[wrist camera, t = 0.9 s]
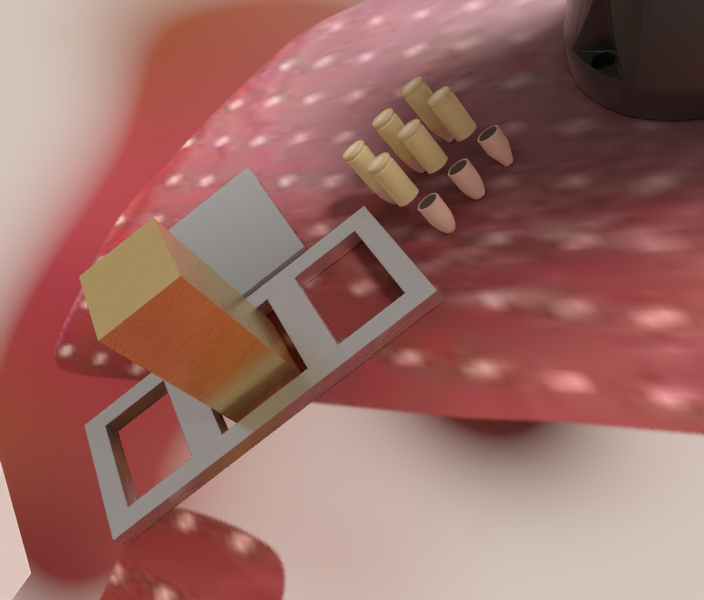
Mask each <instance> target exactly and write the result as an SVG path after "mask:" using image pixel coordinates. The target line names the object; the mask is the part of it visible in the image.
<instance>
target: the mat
mask: <svg viewBox="0 0 704 600" xmlns="http://www.w3.org/2000/svg"><path fill="white" fill-rule="evenodd" d="M168 231H169V232H171V233H172V234H173V235H174V236H175V237H176V238H177V239H178V240H180V241H181V242H182V243H183V244H184V245H185V246H186V247H188V248H189V249H190V250H191V251H192V252H193V253H194V254H196V255H197V256H198V257H199V258H200V259H201V260H202V261H203V262H205V263H206V264H207V265H208V266H209V267H210V268H211V269H213V270H214V271H215V272H216V273H217V274H218V275H219V276H221V277H222V278H223V279H224V280H225V281H226V282H227V283H229V284H230V285H231V286H232V287H233V288H234V289H235V290H236V291H238V292H239V293H240V294H241V295H242V296H243V297H244V298H246V297H247V296H248V295H250V294H251V293H252V292H254V291H255V290H256V289H257V288H259V287H260V286H261V285H263V284H264V283H265V282H266V281H268V280H269V279H270V278H271V277H273V276H274V275H275V274H277V273H278V272H279V271H280V270H282V269H283V268H284V267H285V266H287V265H288V264H289V263H291V262H292V261H293V260H294V259H296V258H297V257H298V256H299V255H301V254H302V253H303V252H305V251H306V248H305V247H304V246H303V244H302V243H301V241H300V240H299V238H298V237H297V236H296V234H295V233H294V231H293V230H292V228H291V227H290V226H289V224H288V223H287V221H286V220H285V218H284V217H283V216H282V214H281V213H280V211H279V210H278V208H277V207H276V206H275V204H274V203H273V201H272V200H271V198H270V197H269V196H268V194H267V193H266V191H265V190H264V188H263V187H262V186H261V184H260V183H259V181H258V180H257V178H256V177H255V176H254V174H253V173H252V171H251V170H250V169H249V167H247V168H246V169H245V170H243V171H242V172H241V173H240V174H238V175H237V176H236V177H234V178H233V179H232V180H231V181H229V182H228V183H227V184H226V185H224V186H223V187H222V188H221V189H219V190H218V191H217V192H216V193H214V194H213V195H212V196H211V197H209V198H208V199H207V200H206V201H204V202H203V203H202V204H201V205H199V206H198V207H197V208H196V209H194V210H193V211H192V212H191V213H189V214H188V215H187V216H186V217H184V218H183V219H182V220H180V221H179V222H178V223H177V224H175V225H174V226H173V227H172V228H170V229H169V230H168Z"/></svg>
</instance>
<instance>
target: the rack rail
mask: <svg viewBox="0 0 704 600" xmlns="http://www.w3.org/2000/svg"><path fill="white" fill-rule="evenodd" d="M361 241H363V242H364V243H365V245H366V246H367V247H368V248H369V250H370V251H371V252H372V253H373V255H374V256H375V257H376V258H377V260H378V261H379V262H380V263H381V265H382V266H383V267H384V268H385V269H386V271H387V272H388V273H389V274H390V276H391V277H392V278H393V279H394V281H395V282H396V283H397V284H398V286H399V287H400V288H401V289H402V291H403V292H404V293H405V294H403V295H402V296H401V297H399V298H398V299H397V300H396V301H394V302H393V303H392V304H390V305H389V306H388V307H386V308H385V309H384V310H383V311H381V312H380V313H379V314H377V315H376V316H375V317H374V318H372V319H371V320H370V321H368V322H367V323H366V324H364V325H363V326H362V327H361V328H359V329H358V330H357V331H355V332H354V333H353V334H352V335H350V336H349V337H348V338H346V339H345V340H344V341H342V342H341V343H339V341H338V340H337V338H336V337H335V335H334V334H333V332H332V331H331V329H330V327H329V326H328V324H327V323H326V321H325V320H324V318H323V317H322V315H321V314H320V312H319V311H318V309H317V308H316V306H315V304H314V303H313V301H312V300H311V298H310V297H309V295H308V294H307V292H306V291H305V289H304V288H303V287H304V286H305V285H306V284H307V283H309V282H310V281H311V280H313V279H314V278H315V277H316V276H318V275H319V274H320V273H322V272H323V271H324V270H325V269H327V268H328V267H329V266H330V265H332V264H333V263H334V262H336V261H337V260H338V259H339V258H341V257H342V256H343V255H345V254H346V253H347V252H348V251H350V250H351V249H352V248H354V247H355V246H356V245H357V244H359V243H360V242H361ZM246 299H247V300H248V301H249V302H250V303H251V304H252V305H254V306H255V307H256V308H257V309H258V310H259V311H260V312H261V313H263V314H264V315H265V316H266V315H268V314H269V313H270V312H272V311H273V310H274V311H275V313H276V315H277V316H278V318H279V320H280V322H281V323H282V325H283V327H284V328H285V330H286V332H287V334H288V335H289V337H290V339H291V340H292V342H293V344H294V346H295V347H296V349H297V351H298V352H299V354H300V356H301V358H302V359H303V361H304V363H305V364H306V366H307V368H308V369H306V370H305V371H304V372H302V373H301V374H300V375H299V376H297V377H296V378H295V379H293V380H292V381H291V382H289V383H288V384H287V385H286V386H284V387H283V388H282V389H280V390H279V391H278V392H277V393H275V394H274V395H273V396H271V397H270V398H269V399H267V400H266V401H265V402H264V403H262V404H261V405H260V406H258V407H257V408H256V409H255V410H253V411H252V412H251V413H249V414H248V415H247V416H245V417H244V418H243V419H242V420H240V421H239V422H238V423H236V424H235V425H234V426H233V427H231V428H230V429H229V430H228V428H227V425H226V423H225V421H224V419H223V416H222V414H221V413H219V412H217V411H216V410H214V409H212V408H210V407H209V406H207V405H205V404H204V403H202V402H200V401H199V400H197V399H195V398H194V397H192V396H190V395H189V394H187V393H185V392H183V391H182V390H180V389H178V388H177V387H175V386H173V385H172V384H170V383H168V382H167V381H165V380H163V379H161V378H160V377H158V376H156V375H155V374H153V373H150V374H149V375H148V376H146V377H145V378H144V379H143V380H141V381H140V382H139V383H138V384H136V385H135V386H134V387H132V388H131V389H130V390H129V391H127V392H126V393H125V394H124V395H122V396H121V397H120V398H118V399H117V400H116V401H115V402H113V403H112V404H111V405H109V407H107V408H106V409H105V410H103V411H102V412H101V413H99V414H98V415H97V416H96V417H94V418H93V419H92V420H90V421H89V422H88V423H87V424H85V430H86V434H87V438H88V442H89V446H90V450H91V454H92V458H93V462H94V466H95V470H96V474H97V478H98V482H99V486H100V490H101V494H102V498H103V502H104V506H105V510H106V514H107V518H108V522H109V527H110V530H111V535H112V538H113V541H117V542H121V543H125V544H128V543H129V542H130V541H132V540H133V539H134V538H136V537H137V536H138V535H139V534H141V533H142V532H143V531H145V530H146V529H147V528H149V527H150V526H151V525H152V524H154V523H155V522H156V521H158V520H159V519H160V518H162V517H163V516H164V515H165V514H167V513H168V512H169V511H171V510H172V509H173V508H175V507H176V506H177V505H178V504H180V503H181V502H182V501H184V500H185V499H186V498H188V497H189V496H190V495H191V494H193V493H194V492H195V491H196V490H198V489H199V488H201V487H202V486H203V485H204V484H206V483H207V482H208V481H210V480H211V479H212V478H214V477H215V476H216V475H217V474H219V473H220V472H221V471H223V470H224V469H225V468H226V467H228V466H229V465H230V464H232V463H233V462H234V461H236V460H237V459H238V458H239V457H241V456H242V455H243V454H245V453H246V452H247V451H248V450H250V449H251V448H253V447H254V446H255V445H256V444H258V443H259V442H260V441H262V440H263V439H264V438H265V437H267V436H268V435H269V434H271V433H272V432H273V431H275V430H276V429H277V428H279V427H280V426H281V425H282V424H284V423H285V422H286V421H288V420H289V419H290V418H292V417H293V416H294V415H295V414H297V413H298V412H299V411H301V410H302V409H303V408H304V407H306V406H307V405H308V404H310V403H311V402H312V401H314V400H315V399H316V398H318V397H319V396H320V395H321V394H323V393H324V392H325V391H327V390H328V389H329V388H331V387H332V386H333V385H334V384H336V383H337V382H338V381H340V380H341V379H342V378H344V377H345V376H346V375H347V374H349V373H350V372H351V371H353V370H354V369H355V368H357V367H358V366H359V365H360V364H362V363H363V362H364V361H366V360H367V359H368V358H370V357H371V356H372V355H373V354H375V353H376V352H377V351H379V350H380V349H381V348H383V347H384V346H385V345H386V344H388V343H389V342H390V341H392V340H393V339H394V338H396V337H397V336H398V335H399V334H401V333H402V332H403V331H405V330H406V329H407V328H409V327H410V326H411V325H412V324H414V323H415V322H416V321H418V320H419V319H420V318H422V317H423V316H424V315H425V314H427V313H428V312H429V311H431V310H432V309H433V308H435V307H436V306H437V305H438V304H440V303H441V302H442V301H444V300H443V299H442V297H441V296H440V294H439V293H438V291H437V290H436V289H435V288H434V286H433V285H432V284H431V283H430V282H429V281H428V279H427V278H426V277H425V276H424V275H423V274H422V272H421V271H420V270H419V269H418V268H417V267H416V265H415V264H414V263H413V262H412V261H411V260H410V259H409V257H408V256H407V255H406V254H405V253H404V252H403V250H402V249H401V248H400V247H399V246H398V245H397V243H396V242H395V241H394V240H393V239H392V238H391V236H390V235H389V234H388V233H387V232H386V231H385V230H384V228H383V227H382V226H381V225H380V224H379V223H378V221H377V220H376V219H375V218H374V217H373V216H372V214H371V213H370V212H369V211H368V210H367V209H366V207H365V206H363V207H362V208H361V209H359V210H358V211H357V212H356V213H354V214H353V215H352V216H351V217H349V218H348V219H347V220H345V221H344V222H343V223H342V224H340V225H339V226H338V227H337V228H335V229H334V230H333V231H331V232H330V233H329V234H328V235H326V236H325V237H324V238H323V239H321V240H320V241H319V242H317V243H316V244H315V245H314V246H312V247H311V248H310V249H308V250H307V251H306V252H305V253H303V254H302V255H301V256H300V257H298V258H297V259H296V260H294V261H293V262H292V263H291V264H289V265H288V266H287V267H286V268H284V269H283V270H282V271H280V272H279V273H278V274H277V275H275V276H274V277H273V278H271V279H270V280H269V281H268V282H266V283H265V284H264V285H263V286H261V287H260V288H259V289H257V290H256V291H255V292H254V293H252V294H251V295H250V296H249V297H247V298H246ZM167 393H169V396H170V399H171V401H172V404H173V407H174V409H175V412H176V414H177V417H178V420H179V423H180V425H181V428H182V431H183V433H184V436H185V438H186V441H187V444H188V447H189V449H190V452H191V454H192V458H191V459H190V460H189V461H187V462H186V463H185V464H183V465H182V466H181V467H179V468H178V469H177V470H176V471H174V472H173V473H172V474H170V475H169V476H168V477H167V478H165V479H164V480H163V481H161V482H160V483H159V484H158V485H156V486H155V487H154V488H152V489H151V490H150V491H148V493H146V494H145V495H143V496H142V497H141V498H139V499H137V496H136V493H135V489H134V485H133V482H132V479H131V475H130V472H129V468H128V465H127V462H126V458H125V455H124V451H123V448H122V444H121V441H120V437H119V434H118V431H119V430H120V429H122V428H123V427H124V426H125V425H127V424H128V423H129V422H131V421H132V420H133V419H135V418H136V417H137V416H138V415H140V414H141V413H142V412H143V411H145V410H146V409H147V408H148V407H150V406H151V405H152V404H154V403H155V402H156V401H157V400H159V399H160V398H161V397H163V396H164V395H165V394H167Z"/></svg>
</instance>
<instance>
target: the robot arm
mask: <svg viewBox="0 0 704 600" xmlns="http://www.w3.org/2000/svg"><path fill="white" fill-rule="evenodd" d="M564 43H565V48H566V53H567V58H568V63H569V68H570V71H571V74H572V76H573V78H574V80H575V81H576V83H577V84H578V86H579V87H580V88H581V89H582V90H583V91H584V92H585V93H586V94H587V95H588V96H589V97H590V98H592V99H593V100H594V101H596V102H597V103H599V104H601V105H603V106H605V107H607V108H609V109H611V110H614V111H616V112H619V113H622V114H626V115H630V116H634V117H639V118H646V119H655V120H686V119H697V118H704V0H568V1H567V6H566V12H565V17H564ZM30 574H31V571H30V568H29V564H28V560H27V557H26V553H25V550H24V546H23V542H22V538H21V535H20V531H19V528H18V524H17V520H16V517H15V513H14V510H13V506H12V502H11V498H10V495H9V491H8V487H7V484H6V480H5V476H4V473H3V469H2V465H1V462H0V600H12V599H13V597H14V596H15V595H16V593H17V592H18V590H19V589H20V588H21V586H22V585H23V584H24V582H25V581H26V580H27V578H28V577H29V576H30Z"/></svg>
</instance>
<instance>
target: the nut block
mask: <svg viewBox="0 0 704 600" xmlns="http://www.w3.org/2000/svg"><path fill="white" fill-rule="evenodd" d="M79 279H80V282H81V285H82V289H83V292H84V295H85V299H86V302H87V305H88V309H89V312H90V315H91V319H92V322H93V325H94V329H95V332H96V335H97V339H98V341H99V342H101V343H102V344H104V345H106V346H107V347H109V348H111V349H112V350H114V351H116V352H118V353H119V354H121V355H123V356H124V357H126V358H128V359H129V360H131V361H133V362H134V363H136V364H138V365H140V366H141V367H143V368H145V369H146V370H148V371H150V372H151V373H153V374H155V375H156V376H158V377H160V378H161V379H163V380H165V381H167V382H168V383H170V384H172V385H173V386H175V387H177V388H178V389H180V390H182V391H183V392H185V393H187V394H189V395H190V396H192V397H194V398H195V399H197V400H199V401H200V402H202V403H204V404H205V405H207V406H209V407H210V408H212V409H214V410H216V411H217V412H219V413H221V414H222V415H224V416H226V417H227V418H229V419H231V420H233V421H234V422H236V423H238V422H239V421H240V420H242V419H243V418H244V417H245V416H247V415H248V414H249V413H251V412H252V411H253V410H255V409H256V408H257V407H258V406H260V405H261V404H262V403H264V402H265V401H266V400H267V399H269V398H270V397H271V396H273V395H274V394H275V393H277V392H278V391H279V390H280V389H282V388H283V387H284V386H286V385H287V384H288V383H289V382H291V381H292V380H293V379H295V378H296V377H297V376H299V375H300V374H301V371H300V370H299V368H298V366H297V364H296V363H295V361H294V359H293V357H292V356H291V354H290V352H289V350H288V349H287V347H286V345H285V343H284V342H283V340H282V338H281V336H280V335H279V333H278V331H277V329H276V328H275V326H274V324H273V322H272V321H271V320H269V319H268V318H267V317H266V316H265V315H264V314H263V313H261V312H260V311H259V310H258V309H257V308H256V307H255V306H254V305H252V304H251V303H250V302H249V301H248V300H247V299H246V298H244V297H243V296H242V295H241V294H240V293H239V292H238V291H236V290H235V289H234V288H233V287H232V286H231V285H230V284H229V283H227V282H226V281H225V280H224V279H223V278H222V277H221V276H219V275H218V274H217V273H216V272H215V271H214V270H213V269H211V268H210V267H209V266H208V265H207V264H206V263H205V262H203V261H202V260H201V259H200V258H199V257H198V256H197V255H196V254H194V253H193V252H192V251H191V250H190V249H189V248H188V247H186V246H185V245H184V244H183V243H182V242H181V241H180V240H178V239H177V238H176V237H175V236H174V235H173V234H172V233H171V232H169V231H168V230H167V229H166V228H165V227H164V226H163V225H161V224H160V223H159V222H158V221H157V220H156V219H155V218H152V219H151V220H149V221H148V222H147V223H146V224H144V225H143V226H142V227H141V228H139V229H138V230H137V231H136V232H134V233H133V234H132V235H131V236H129V237H128V238H127V239H126V240H124V241H123V242H122V243H121V244H119V245H118V246H117V247H116V248H114V249H113V250H112V251H111V252H109V253H108V254H107V255H105V256H104V257H103V258H102V259H100V260H99V261H98V262H97V263H95V264H94V265H93V266H92V267H90V268H89V269H88V270H87V271H85V272H84V273H83V274H82V275H81V276H79Z"/></svg>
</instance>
